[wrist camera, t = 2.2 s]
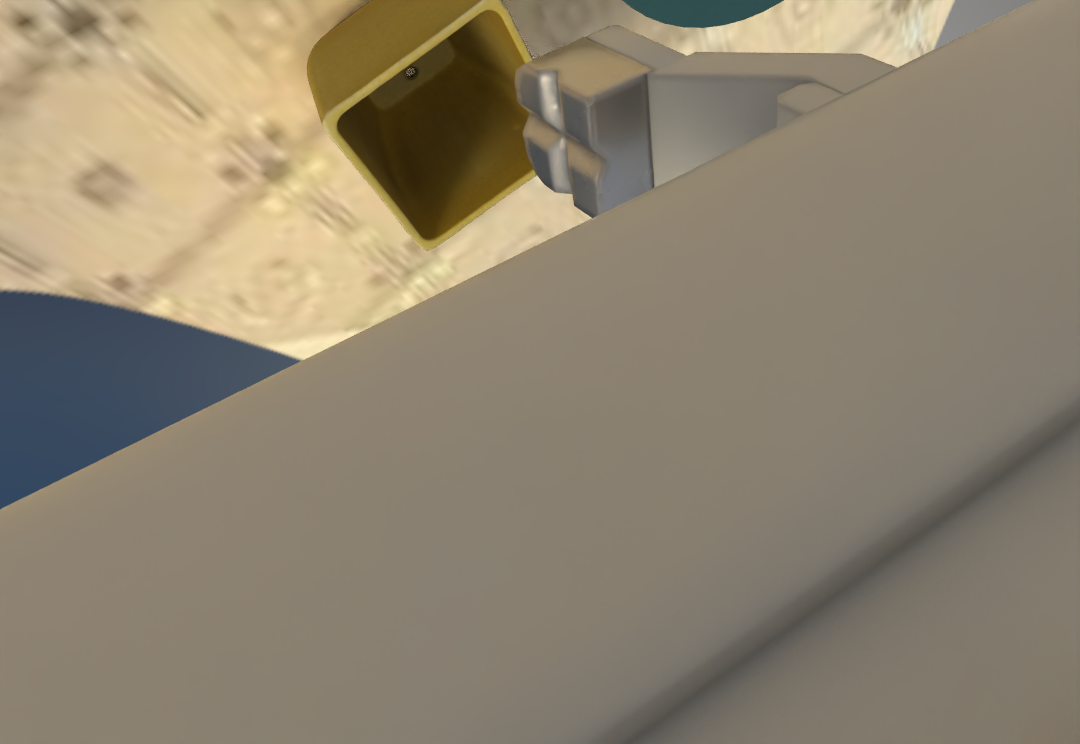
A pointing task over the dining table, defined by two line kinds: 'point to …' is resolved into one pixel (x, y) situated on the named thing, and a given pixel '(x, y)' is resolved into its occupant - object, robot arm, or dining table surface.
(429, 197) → the flower pot
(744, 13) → the lid
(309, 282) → the dining table surface
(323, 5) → the dining table surface
